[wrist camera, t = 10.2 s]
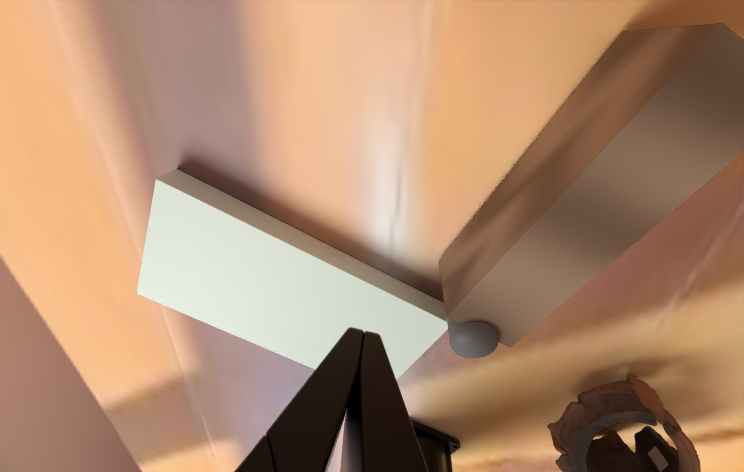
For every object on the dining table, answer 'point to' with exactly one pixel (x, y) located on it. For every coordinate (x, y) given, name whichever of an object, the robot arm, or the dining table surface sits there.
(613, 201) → the folding leg
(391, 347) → the pale green flat block
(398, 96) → the dining table surface
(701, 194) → the dining table surface
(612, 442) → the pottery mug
